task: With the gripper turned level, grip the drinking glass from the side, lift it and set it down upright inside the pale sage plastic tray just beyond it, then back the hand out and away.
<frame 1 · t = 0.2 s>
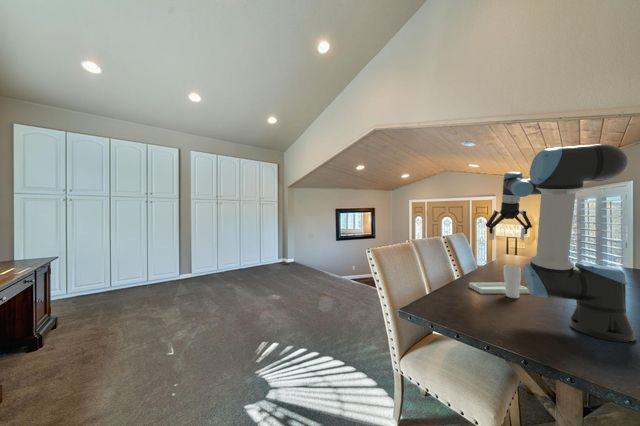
hand: (506, 239, 137), 27 cm above the table, tool tilted 15°, fingers open, 13 cm apart
tray: (498, 290, 134), on the table
drinking glass: (512, 297, 124), on the table
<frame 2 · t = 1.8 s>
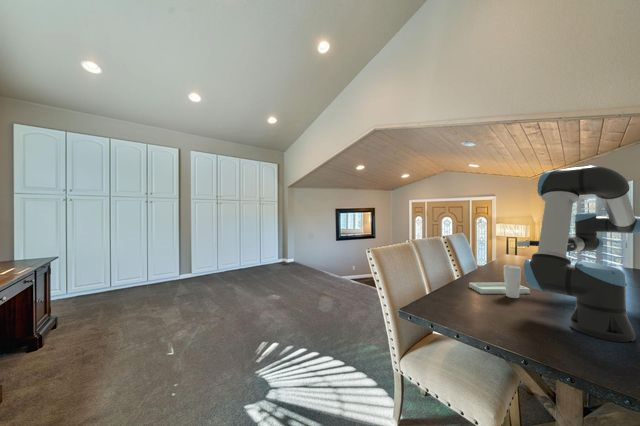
hand: (529, 245, 125), 25 cm above the table, tool horizontal, fingers open, 13 cm apart
nothing on the table moved.
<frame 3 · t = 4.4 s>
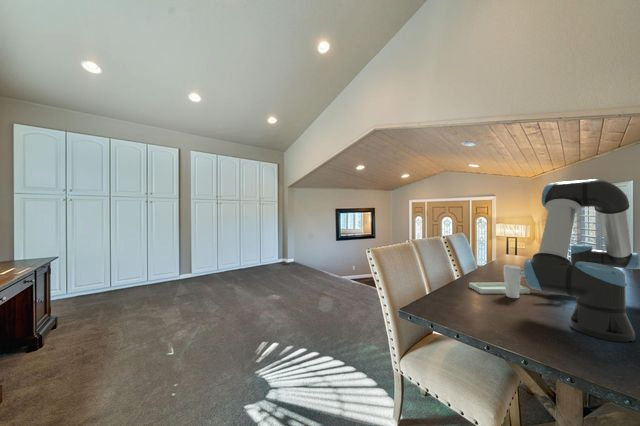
hand: (524, 278, 125), 9 cm above the table, tool horizontal, fingers open, 13 cm apart
nothing on the table moved.
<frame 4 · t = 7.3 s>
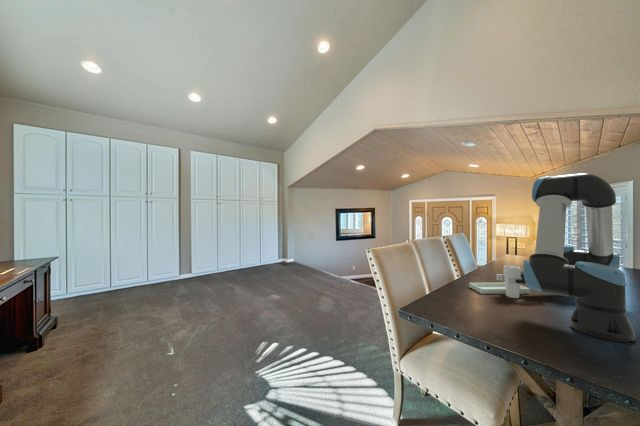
hand: (502, 279, 124), 9 cm above the table, tool horizontal, fingers closed on drinking glass, 6 cm apart
drinking glass: (512, 297, 124), on the table, touching gripper
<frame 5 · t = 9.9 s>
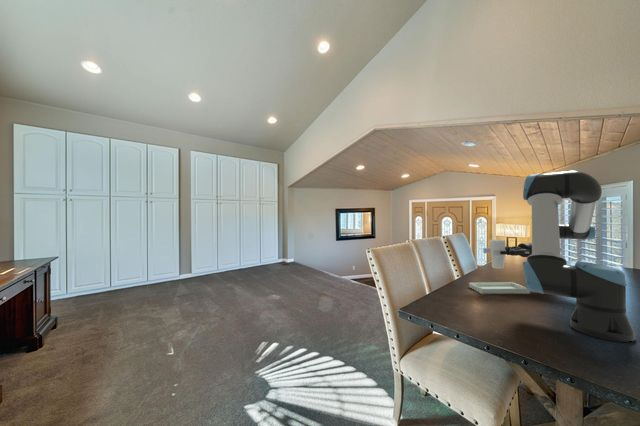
hand: (488, 251, 134), 21 cm above the table, tool horizontal, fingers closed on drinking glass, 6 cm apart
drinking glass: (497, 268, 134), point 12 cm above the table, touching gripper
when the fingers open (11 cm above the table, at t = 12.5 s): drinking glass moves 3 cm, resting on tray.
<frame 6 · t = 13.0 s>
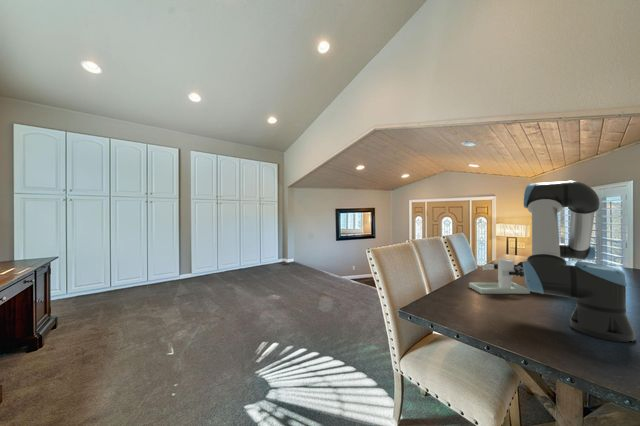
hand: (491, 270, 134), 11 cm above the table, tool horizontal, fingers open, 13 cm apart
drinking glass: (504, 288, 132), point 2 cm above the table, touching gripper, tray
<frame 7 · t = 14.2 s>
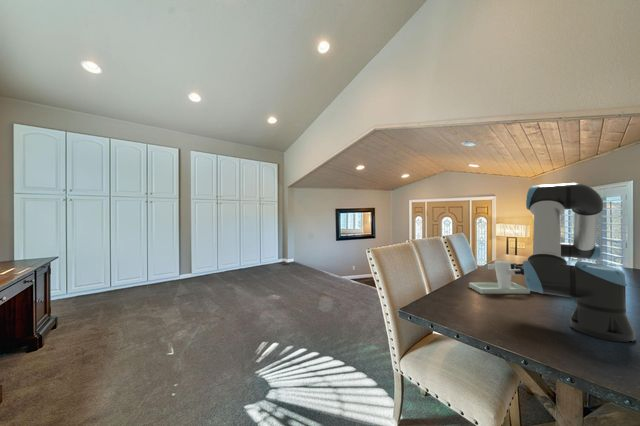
hand: (497, 269, 135), 11 cm above the table, tool horizontal, fingers open, 13 cm apart
drinking glass: (504, 290, 132), point 1 cm above the table, touching tray
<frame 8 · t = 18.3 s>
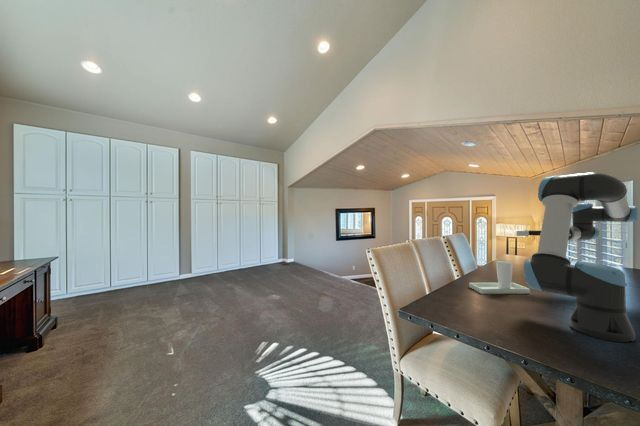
hand: (528, 234, 130), 30 cm above the table, tool horizontal, fingers open, 13 cm apart
nothing on the table moved.
at the end: drinking glass inside the target area on the tray (3.0 cm from its centre), point 0.4 cm above the tray's base; drinking glass tilted 0°; the gripper is holding nothing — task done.
